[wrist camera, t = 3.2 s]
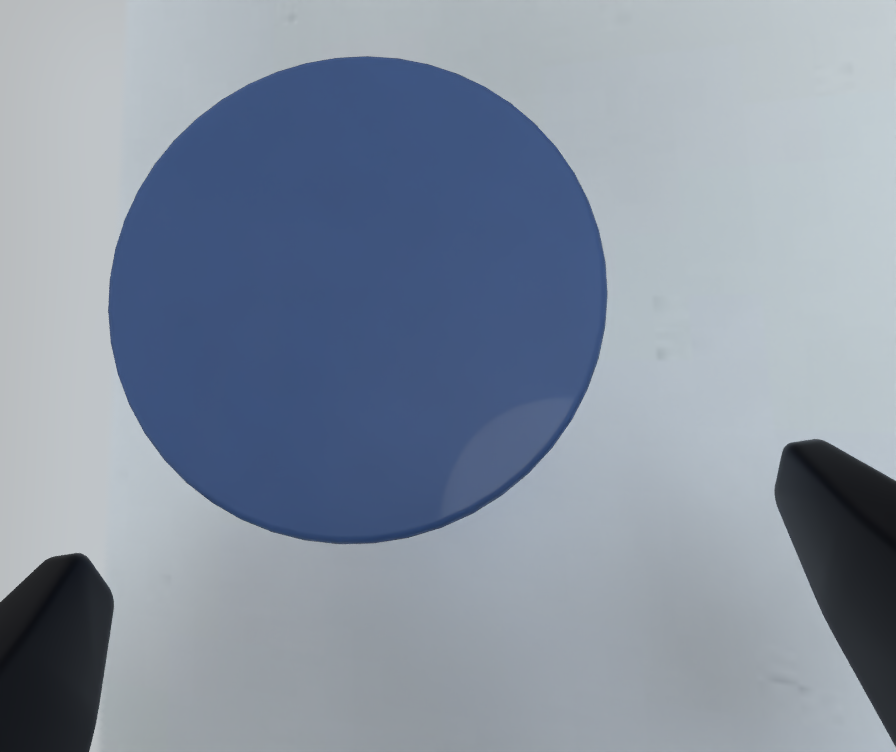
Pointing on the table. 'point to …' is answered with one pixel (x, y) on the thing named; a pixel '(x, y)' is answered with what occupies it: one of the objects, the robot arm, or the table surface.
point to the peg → (357, 300)
